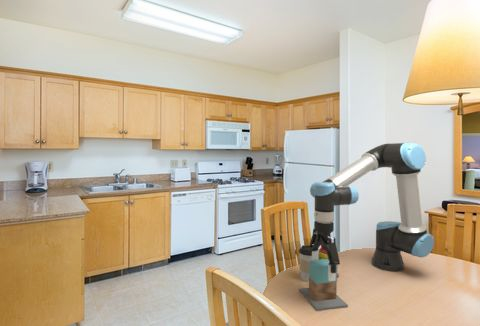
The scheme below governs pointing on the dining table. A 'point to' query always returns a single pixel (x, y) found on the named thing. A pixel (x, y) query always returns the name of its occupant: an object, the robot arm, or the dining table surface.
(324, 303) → the mat
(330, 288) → the walnut brick
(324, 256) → the stacking bear
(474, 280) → the dining table surface
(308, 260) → the coffee cup
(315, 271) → the teal brick
